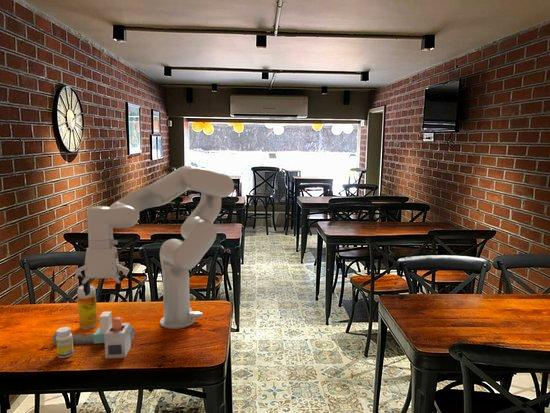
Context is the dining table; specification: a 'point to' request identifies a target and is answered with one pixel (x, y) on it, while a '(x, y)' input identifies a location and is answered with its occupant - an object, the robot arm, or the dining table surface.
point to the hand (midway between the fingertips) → (102, 294)
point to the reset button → (117, 324)
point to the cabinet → (117, 342)
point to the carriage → (103, 326)
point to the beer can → (87, 308)
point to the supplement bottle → (64, 342)
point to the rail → (87, 337)
